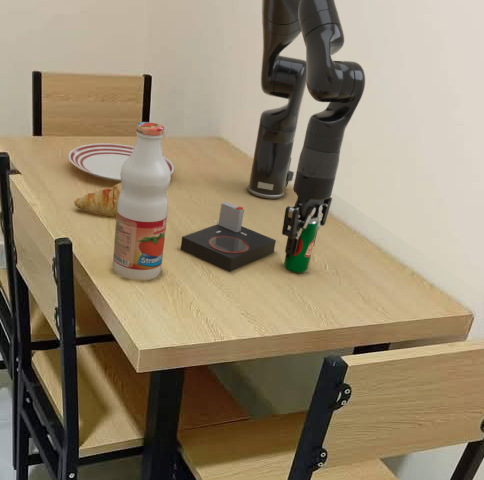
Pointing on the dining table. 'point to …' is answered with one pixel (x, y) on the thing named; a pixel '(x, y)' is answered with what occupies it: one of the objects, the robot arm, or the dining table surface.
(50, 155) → the dining table surface
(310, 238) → the soda can
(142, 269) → the strawberry milk bottle
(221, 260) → the cooker
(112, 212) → the croissant
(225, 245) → the hot plate ring
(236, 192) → the dining table surface
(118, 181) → the dinner plate
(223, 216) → the cooker dial
